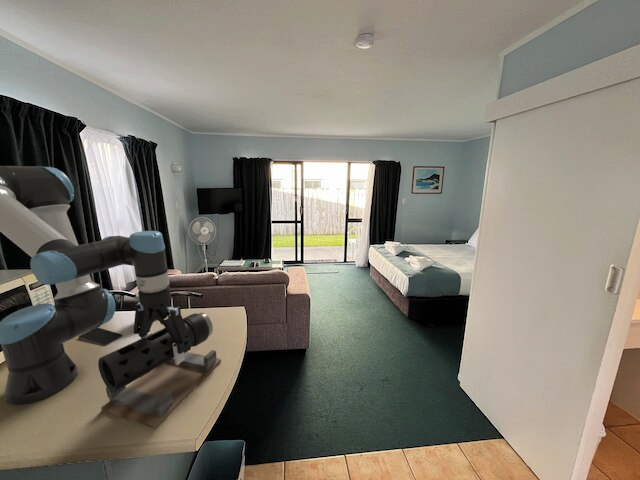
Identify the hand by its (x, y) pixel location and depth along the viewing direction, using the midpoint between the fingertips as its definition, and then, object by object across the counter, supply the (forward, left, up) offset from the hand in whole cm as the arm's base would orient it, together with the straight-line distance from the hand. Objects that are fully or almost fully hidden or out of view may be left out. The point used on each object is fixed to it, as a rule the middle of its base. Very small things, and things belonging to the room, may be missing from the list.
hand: (164, 358), depth 81 cm
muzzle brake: (0, 0, -2) cm, 2 cm away
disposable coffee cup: (-38, +29, -9) cm, 49 cm away
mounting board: (0, 0, -9) cm, 9 cm away
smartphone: (-44, +12, -9) cm, 47 cm away
